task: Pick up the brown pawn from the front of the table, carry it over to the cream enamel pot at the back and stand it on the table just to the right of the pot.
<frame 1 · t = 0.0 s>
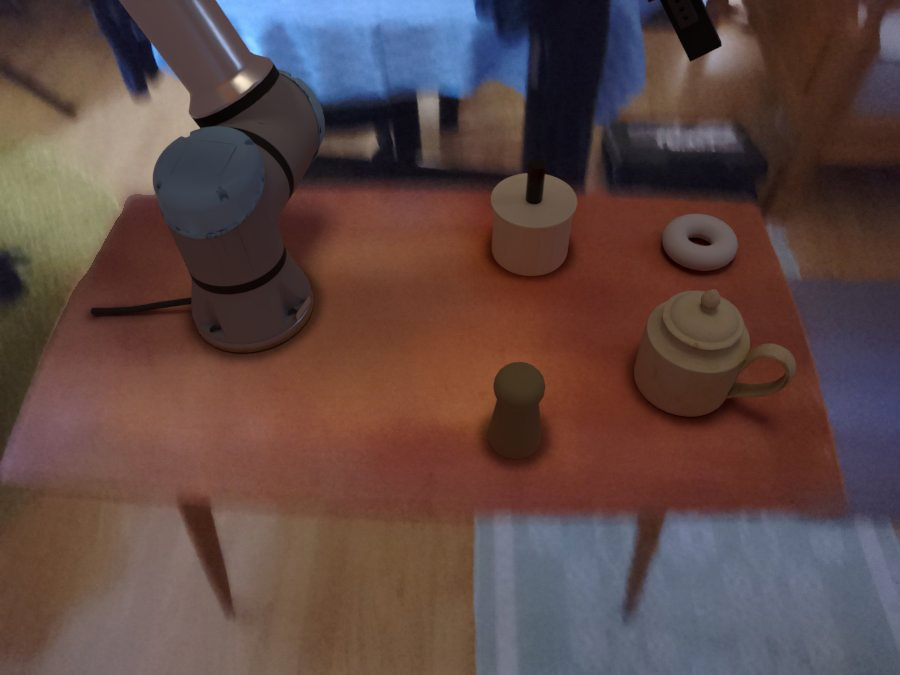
hand: (704, 16, 62), 36 cm above the table, tool tilted 35°, fingers open, 13 cm apart
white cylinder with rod: (533, 202, 89), point 8 cm above the table, touching pot
brown pawn: (514, 436, 76), on the table
pot: (529, 249, 95), on the table
donut: (696, 251, 95), on the table
sugar bowl: (696, 381, 80), on the table
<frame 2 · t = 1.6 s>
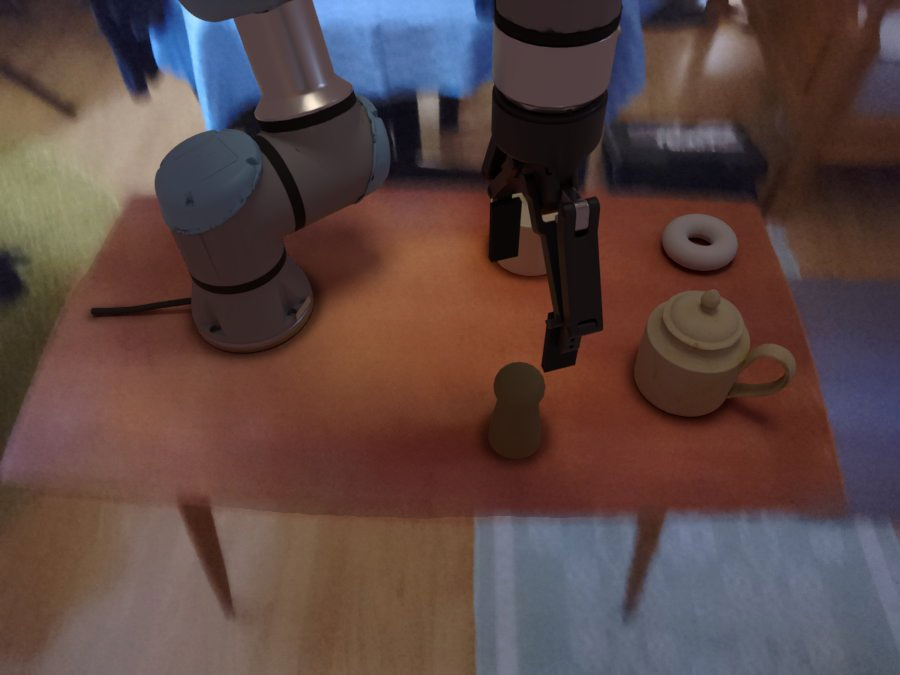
hand: (528, 307, 60), 21 cm above the table, tool pointing down, fingers open, 13 cm apart
nothing on the table moved.
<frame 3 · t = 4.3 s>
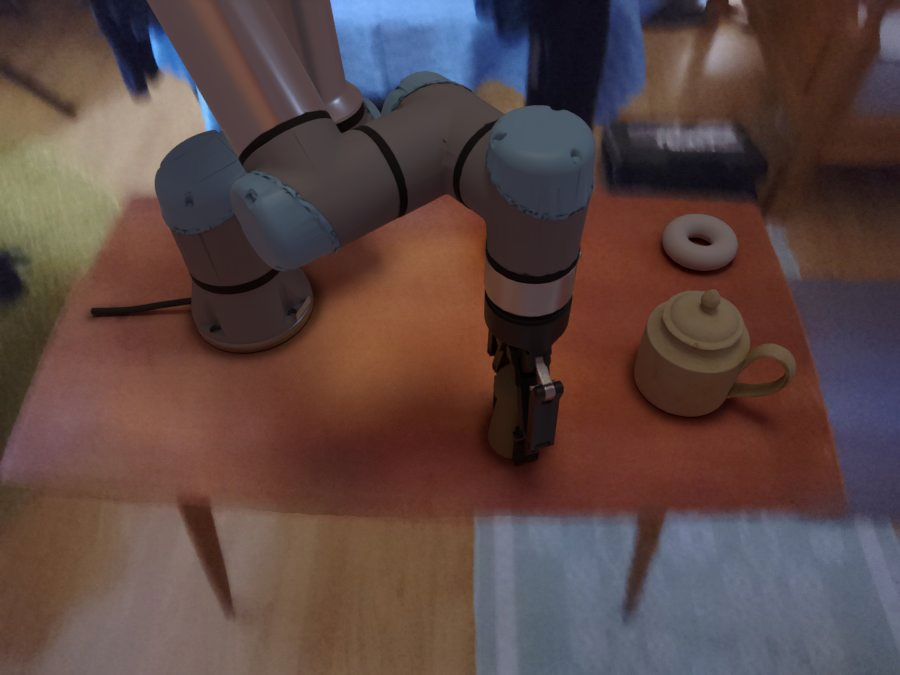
hand: (514, 433, 76), 0 cm above the table, tool pointing down, fingers closed on brown pawn, 6 cm apart
brown pawn: (514, 436, 76), on the table, touching gripper
everything else where it was.
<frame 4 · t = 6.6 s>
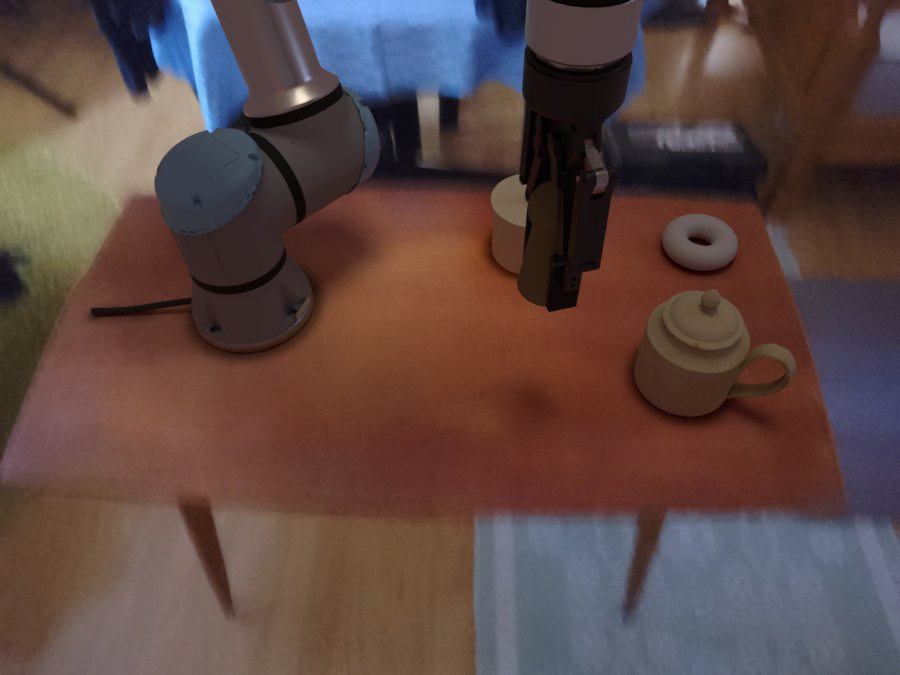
hand: (548, 281, 65), 19 cm above the table, tool pointing down, fingers closed on brown pawn, 6 cm apart
brown pawn: (548, 285, 65), point 18 cm above the table, touching gripper
everything else where it was.
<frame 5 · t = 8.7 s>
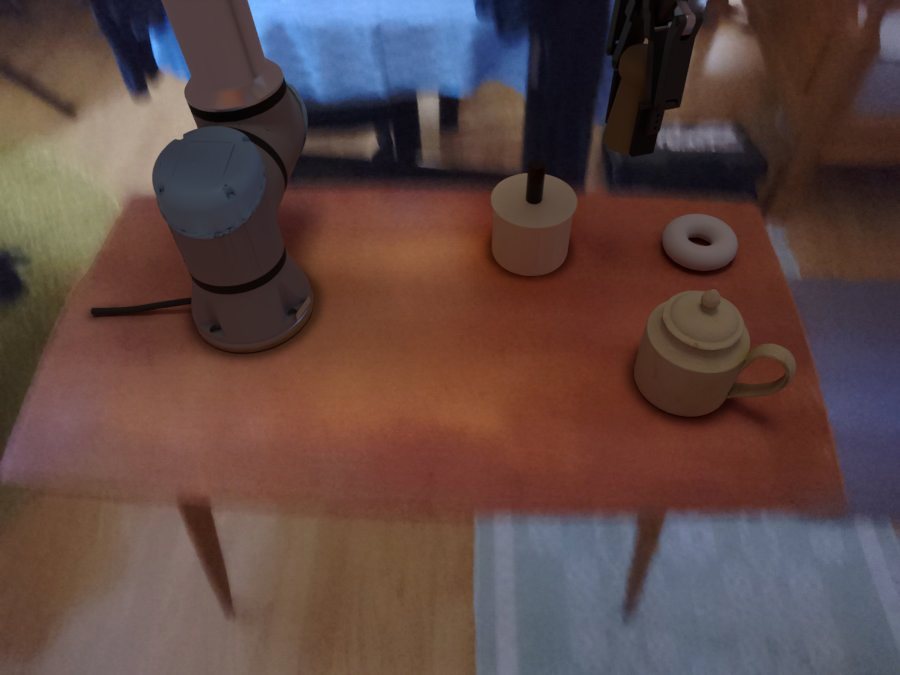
hand: (628, 136, 80), 19 cm above the table, tool pointing down, fingers closed on brown pawn, 6 cm apart
brown pawn: (627, 141, 81), point 18 cm above the table, touching gripper
everything else where it was.
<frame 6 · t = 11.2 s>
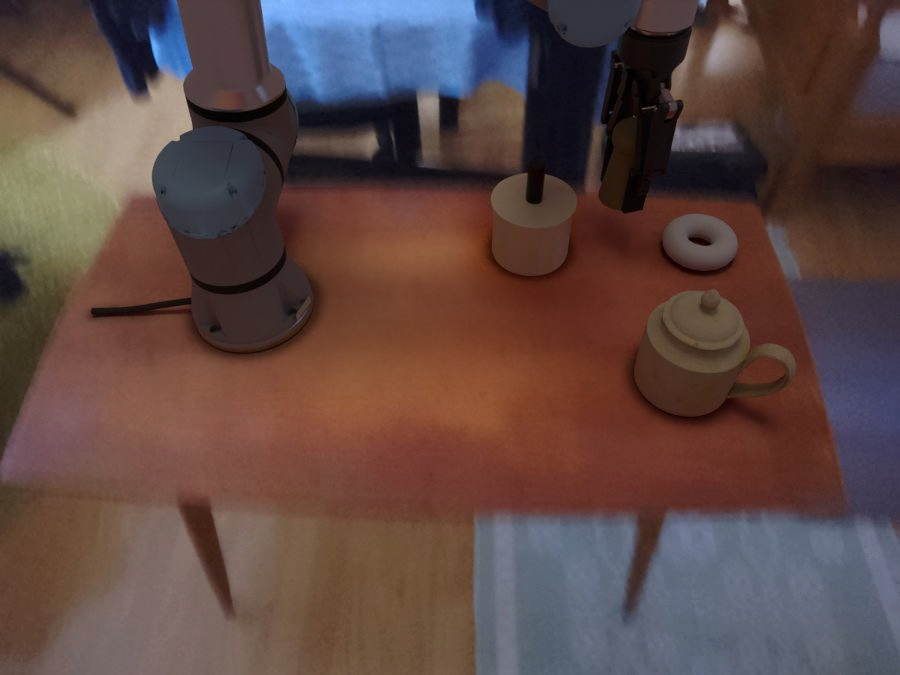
hand: (621, 194, 91), 8 cm above the table, tool pointing down, fingers closed on brown pawn, 6 cm apart
brown pawn: (620, 197, 91), point 7 cm above the table, touching gripper
everything else where it was.
when the fingers open (0 cm above the table, at t = 13.1 s): brown pawn stays where it is, on the table.
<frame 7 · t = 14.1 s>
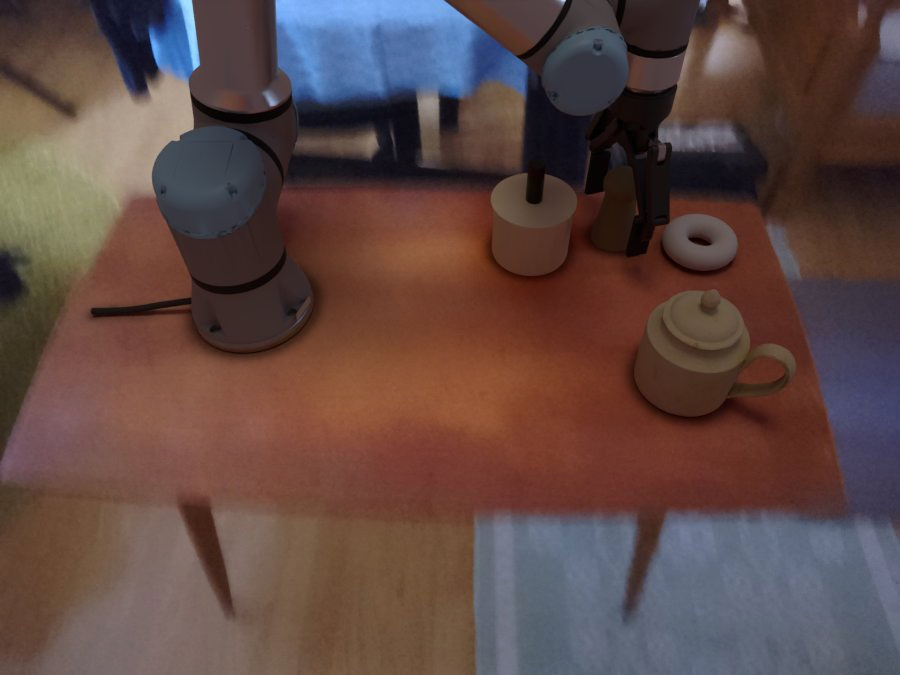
hand: (613, 221, 94), 3 cm above the table, tool pointing down, fingers open, 13 cm apart
brown pawn: (611, 238, 97), on the table
everything else where it was.
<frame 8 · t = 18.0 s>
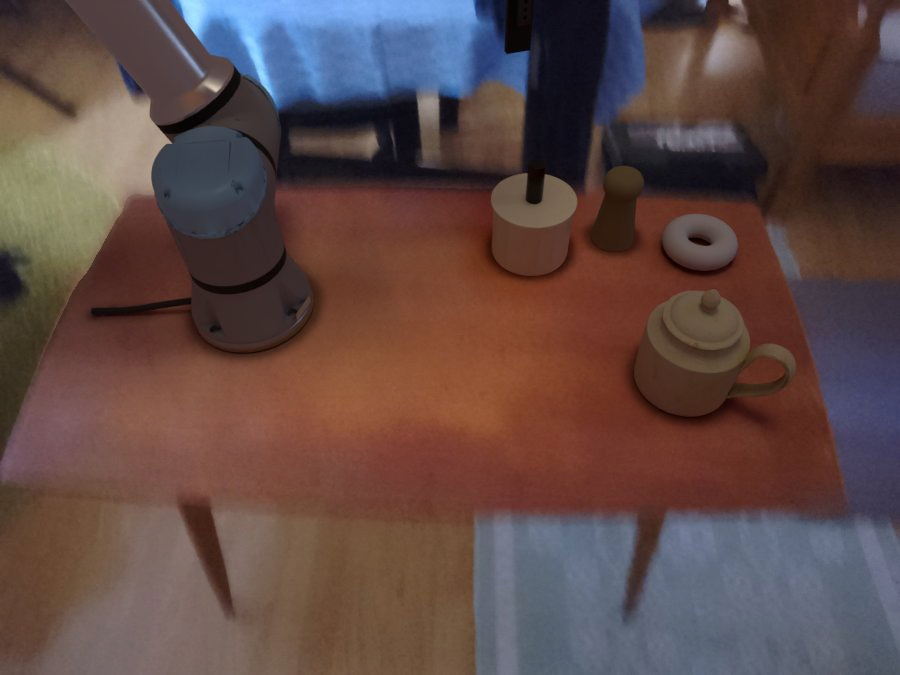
hand: (497, 23, 78), 29 cm above the table, tool pointing down, fingers open, 13 cm apart
nothing on the table moved.
at the end: brown pawn inside the target area on the table beside the pot (0.6 cm from its centre), on the table; brown pawn tilted 0°; the gripper is holding nothing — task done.
